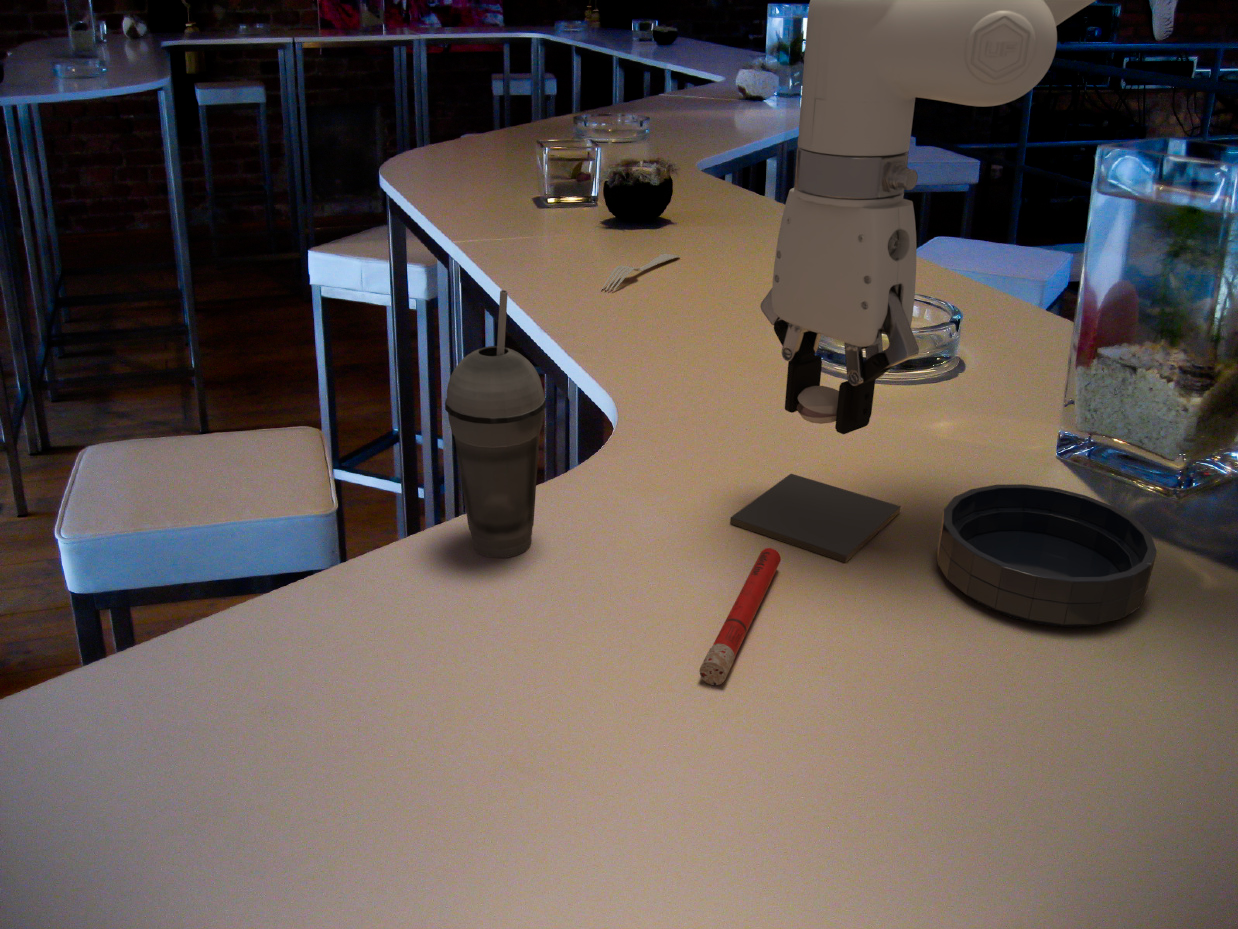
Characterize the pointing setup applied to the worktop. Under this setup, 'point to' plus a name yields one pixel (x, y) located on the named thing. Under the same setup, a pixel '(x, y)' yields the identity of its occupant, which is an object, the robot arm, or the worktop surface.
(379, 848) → the worktop surface
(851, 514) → the coaster
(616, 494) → the worktop surface
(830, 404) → the clam shell
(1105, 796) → the worktop surface
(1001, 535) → the bowl
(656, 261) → the fork
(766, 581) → the flare
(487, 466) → the beverage cup
